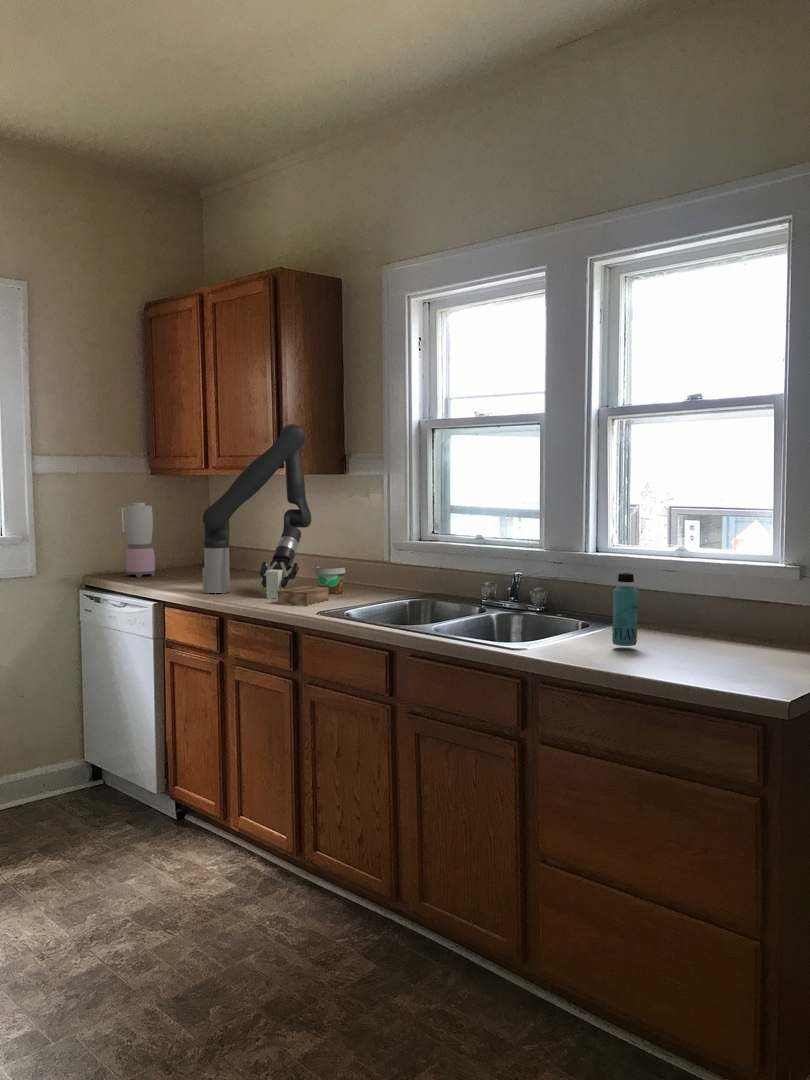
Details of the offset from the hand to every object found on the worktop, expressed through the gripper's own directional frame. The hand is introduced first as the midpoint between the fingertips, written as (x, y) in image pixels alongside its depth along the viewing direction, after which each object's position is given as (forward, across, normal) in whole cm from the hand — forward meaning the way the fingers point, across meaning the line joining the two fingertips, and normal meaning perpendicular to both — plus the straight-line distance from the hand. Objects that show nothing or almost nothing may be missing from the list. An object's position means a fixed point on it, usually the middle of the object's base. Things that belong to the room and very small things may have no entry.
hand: (273, 586), depth 321 cm
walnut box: (+7, +14, 0) cm, 16 cm away
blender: (-30, -86, +37) cm, 98 cm away
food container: (-8, +15, +14) cm, 22 cm away
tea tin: (+2, 0, +4) cm, 5 cm away
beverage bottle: (+44, +126, -37) cm, 139 cm away
